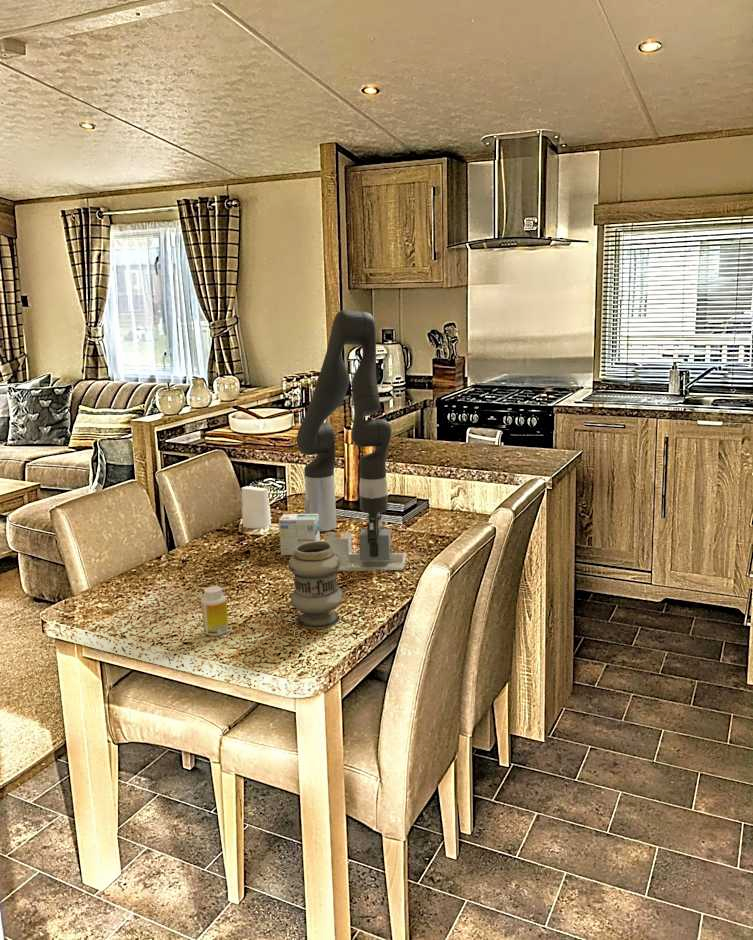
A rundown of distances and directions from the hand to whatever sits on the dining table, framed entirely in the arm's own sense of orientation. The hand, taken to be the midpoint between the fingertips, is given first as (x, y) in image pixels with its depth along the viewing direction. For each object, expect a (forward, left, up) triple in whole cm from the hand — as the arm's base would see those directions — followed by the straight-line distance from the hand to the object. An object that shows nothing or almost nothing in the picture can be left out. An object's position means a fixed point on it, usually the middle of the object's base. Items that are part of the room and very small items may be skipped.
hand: (375, 552), depth 233 cm
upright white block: (-43, +38, -3) cm, 57 cm away
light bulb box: (-23, +10, -3) cm, 25 cm away
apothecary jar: (-9, -40, -3) cm, 41 cm away
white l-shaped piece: (-3, 0, -3) cm, 4 cm away
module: (0, 0, -1) cm, 1 cm away
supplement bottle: (-31, -47, -3) cm, 56 cm away
